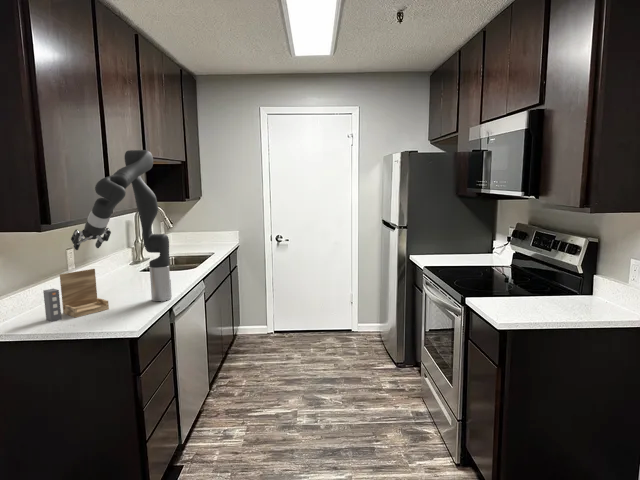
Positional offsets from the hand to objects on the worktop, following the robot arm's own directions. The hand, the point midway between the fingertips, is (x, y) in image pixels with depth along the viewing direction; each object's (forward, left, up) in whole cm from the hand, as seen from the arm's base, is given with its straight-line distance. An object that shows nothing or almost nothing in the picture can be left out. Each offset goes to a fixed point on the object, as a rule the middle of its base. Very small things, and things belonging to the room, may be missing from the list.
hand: (86, 247), depth 178 cm
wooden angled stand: (-9, -10, -31) cm, 34 cm away
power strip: (+4, -16, -31) cm, 35 cm away
